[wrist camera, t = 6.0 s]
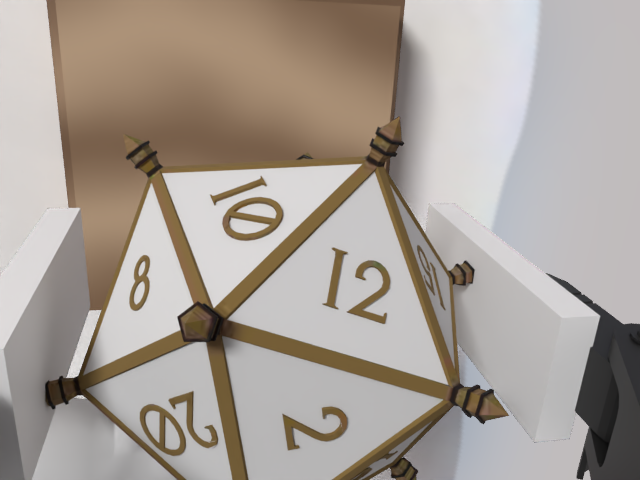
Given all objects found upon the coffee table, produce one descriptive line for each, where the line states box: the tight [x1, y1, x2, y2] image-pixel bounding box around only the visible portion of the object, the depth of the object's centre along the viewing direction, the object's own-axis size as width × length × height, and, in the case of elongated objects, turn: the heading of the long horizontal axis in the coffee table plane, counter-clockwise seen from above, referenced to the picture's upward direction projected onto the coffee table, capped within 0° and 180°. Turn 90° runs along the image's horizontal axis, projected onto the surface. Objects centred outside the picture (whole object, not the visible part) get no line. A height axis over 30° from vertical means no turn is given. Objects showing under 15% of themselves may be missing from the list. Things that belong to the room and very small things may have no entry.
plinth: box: [47, 0, 405, 310], centre depth 27 cm, size 14×14×4 cm
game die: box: [45, 117, 509, 480], centre depth 13 cm, size 9×8×10 cm
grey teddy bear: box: [32, 398, 177, 480], centre depth 31 cm, size 10×5×15 cm
